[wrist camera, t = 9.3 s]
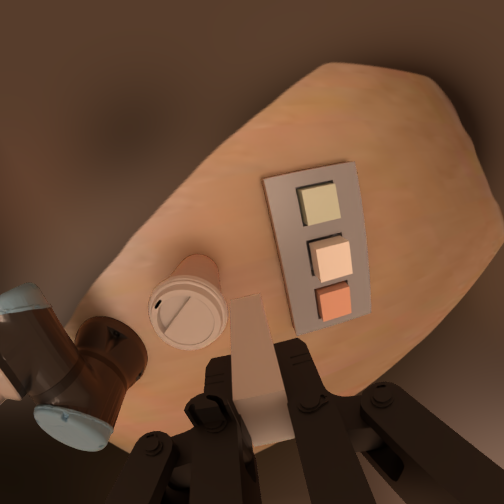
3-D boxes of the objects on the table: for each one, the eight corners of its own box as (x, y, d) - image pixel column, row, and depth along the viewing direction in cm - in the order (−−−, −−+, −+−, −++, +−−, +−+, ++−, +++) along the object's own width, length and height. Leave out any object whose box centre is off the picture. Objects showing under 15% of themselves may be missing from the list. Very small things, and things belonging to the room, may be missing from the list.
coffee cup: (207, 233, 42) (196, 265, 28) (239, 283, 45) (244, 334, 30) (157, 264, 43) (127, 307, 28) (190, 309, 45) (177, 366, 31)
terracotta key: (317, 311, 46) (323, 321, 43) (313, 286, 45) (319, 295, 41) (343, 303, 46) (351, 313, 43) (341, 278, 45) (349, 286, 41)
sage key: (302, 221, 41) (308, 225, 38) (295, 188, 40) (301, 190, 36) (332, 214, 41) (340, 217, 38) (326, 182, 40) (335, 183, 37)
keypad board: (293, 326, 48) (296, 336, 45) (261, 178, 40) (263, 179, 37) (364, 305, 48) (371, 312, 45) (346, 161, 40) (354, 161, 37)
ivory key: (314, 273, 42) (321, 282, 38) (308, 243, 40) (316, 249, 37) (343, 265, 42) (352, 273, 39) (339, 235, 40) (349, 241, 37)
